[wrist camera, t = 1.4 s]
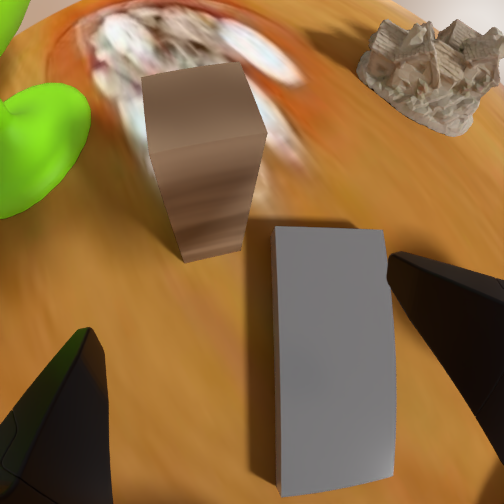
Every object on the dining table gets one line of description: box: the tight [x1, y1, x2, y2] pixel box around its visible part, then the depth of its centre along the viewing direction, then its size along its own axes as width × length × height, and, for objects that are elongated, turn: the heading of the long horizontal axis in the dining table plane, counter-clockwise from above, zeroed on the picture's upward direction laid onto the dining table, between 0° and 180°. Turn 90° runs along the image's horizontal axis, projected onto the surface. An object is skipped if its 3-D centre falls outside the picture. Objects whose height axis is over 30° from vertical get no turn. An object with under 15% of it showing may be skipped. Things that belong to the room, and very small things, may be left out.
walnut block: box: [141, 62, 267, 263], centre depth 17 cm, size 4×4×13 cm
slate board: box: [270, 226, 396, 497], centre depth 20 cm, size 18×8×2 cm, turn 1°
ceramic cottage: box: [356, 19, 504, 137], centre depth 25 cm, size 16×16×15 cm
